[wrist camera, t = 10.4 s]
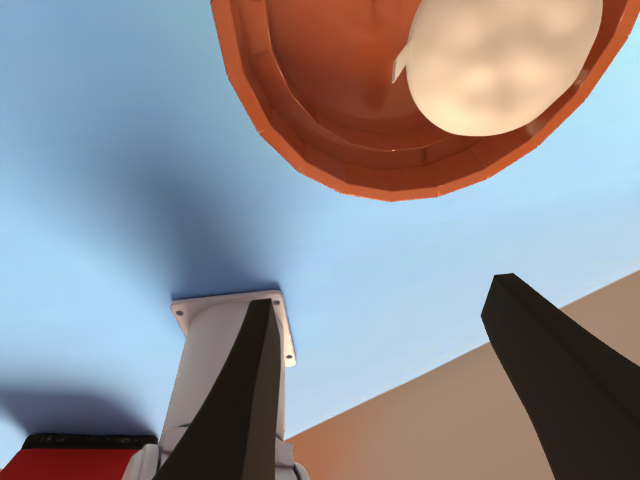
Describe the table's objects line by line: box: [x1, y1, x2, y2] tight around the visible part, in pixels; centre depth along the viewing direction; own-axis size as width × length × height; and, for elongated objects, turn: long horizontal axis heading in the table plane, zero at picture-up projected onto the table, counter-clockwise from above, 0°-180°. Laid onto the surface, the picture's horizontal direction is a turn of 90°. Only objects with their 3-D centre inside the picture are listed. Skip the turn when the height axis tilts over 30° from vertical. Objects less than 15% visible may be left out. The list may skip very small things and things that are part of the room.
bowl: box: [210, 0, 640, 202], centre depth 14 cm, size 14×14×4 cm
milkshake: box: [373, 0, 603, 136], centre depth 11 cm, size 4×5×10 cm
